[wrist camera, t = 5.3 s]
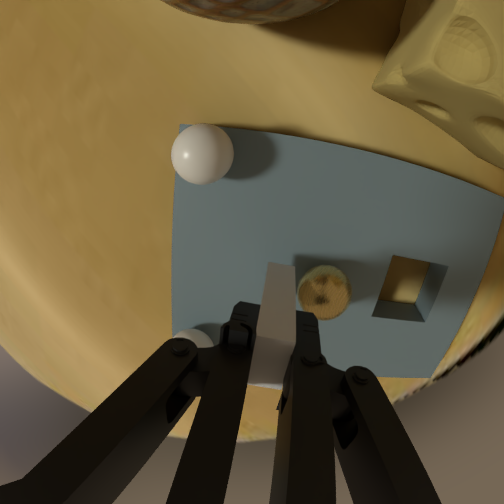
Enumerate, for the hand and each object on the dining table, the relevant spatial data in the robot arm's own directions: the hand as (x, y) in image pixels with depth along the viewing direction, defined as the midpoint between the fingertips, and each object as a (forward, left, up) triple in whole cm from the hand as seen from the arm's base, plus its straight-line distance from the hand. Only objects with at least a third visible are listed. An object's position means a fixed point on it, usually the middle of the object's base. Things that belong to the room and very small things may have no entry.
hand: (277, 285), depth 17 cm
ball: (0, +3, 0) cm, 3 cm away
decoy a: (-7, -5, 0) cm, 8 cm away
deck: (0, +4, -4) cm, 6 cm away
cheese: (-16, +10, -4) cm, 20 cm away
